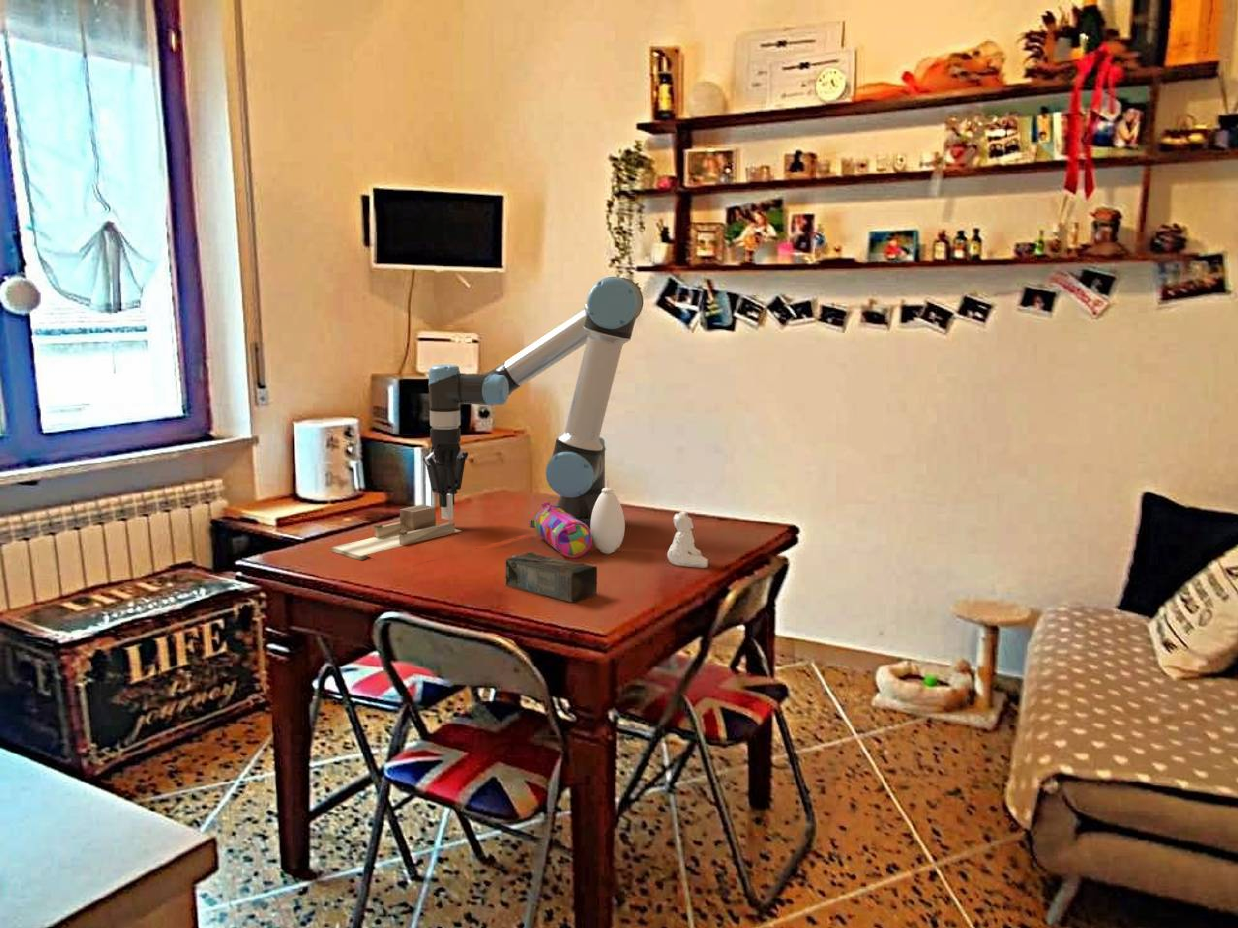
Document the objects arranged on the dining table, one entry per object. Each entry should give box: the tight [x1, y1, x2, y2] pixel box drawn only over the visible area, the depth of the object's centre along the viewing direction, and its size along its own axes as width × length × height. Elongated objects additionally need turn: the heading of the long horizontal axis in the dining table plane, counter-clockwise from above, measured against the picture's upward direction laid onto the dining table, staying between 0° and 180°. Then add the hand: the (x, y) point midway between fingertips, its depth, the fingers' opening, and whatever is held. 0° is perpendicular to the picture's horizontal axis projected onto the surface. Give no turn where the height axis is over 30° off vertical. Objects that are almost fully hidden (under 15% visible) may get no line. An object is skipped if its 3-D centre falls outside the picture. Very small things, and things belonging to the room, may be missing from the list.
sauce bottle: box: [590, 477, 626, 555], centre depth 220 cm, size 8×8×18 cm
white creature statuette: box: [666, 510, 709, 569], centre depth 212 cm, size 10×9×12 cm
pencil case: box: [529, 501, 593, 559], centre depth 226 cm, size 22×9×9 cm, turn 22°
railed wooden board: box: [331, 521, 462, 561], centre depth 230 cm, size 12×30×4 cm, turn 140°
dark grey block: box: [505, 552, 598, 604], centre depth 194 cm, size 8×19×7 cm, turn 51°
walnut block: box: [399, 504, 437, 532], centre depth 234 cm, size 5×7×6 cm
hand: (447, 518), depth 241 cm, fingers closed
